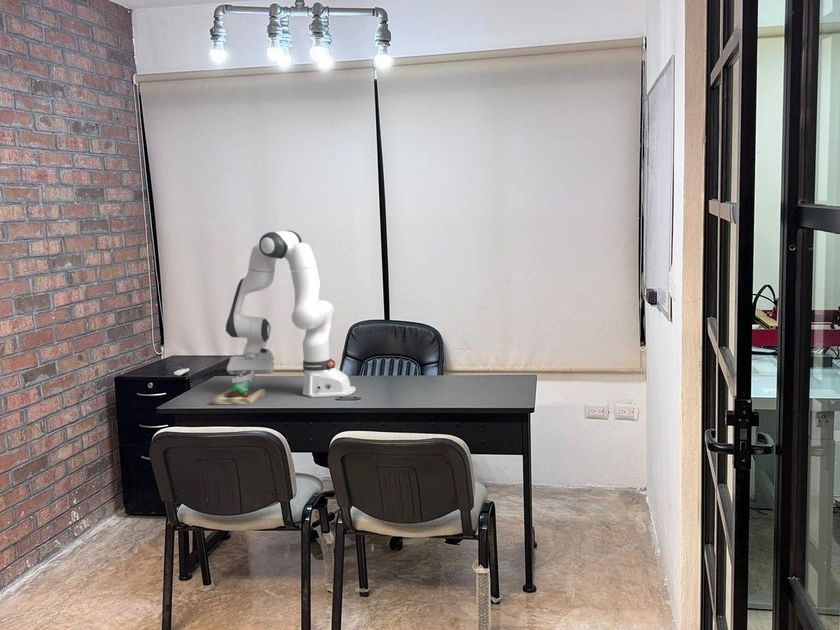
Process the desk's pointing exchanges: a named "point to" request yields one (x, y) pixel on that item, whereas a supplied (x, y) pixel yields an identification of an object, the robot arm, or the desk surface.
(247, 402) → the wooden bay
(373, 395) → the desk surface
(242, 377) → the food container
